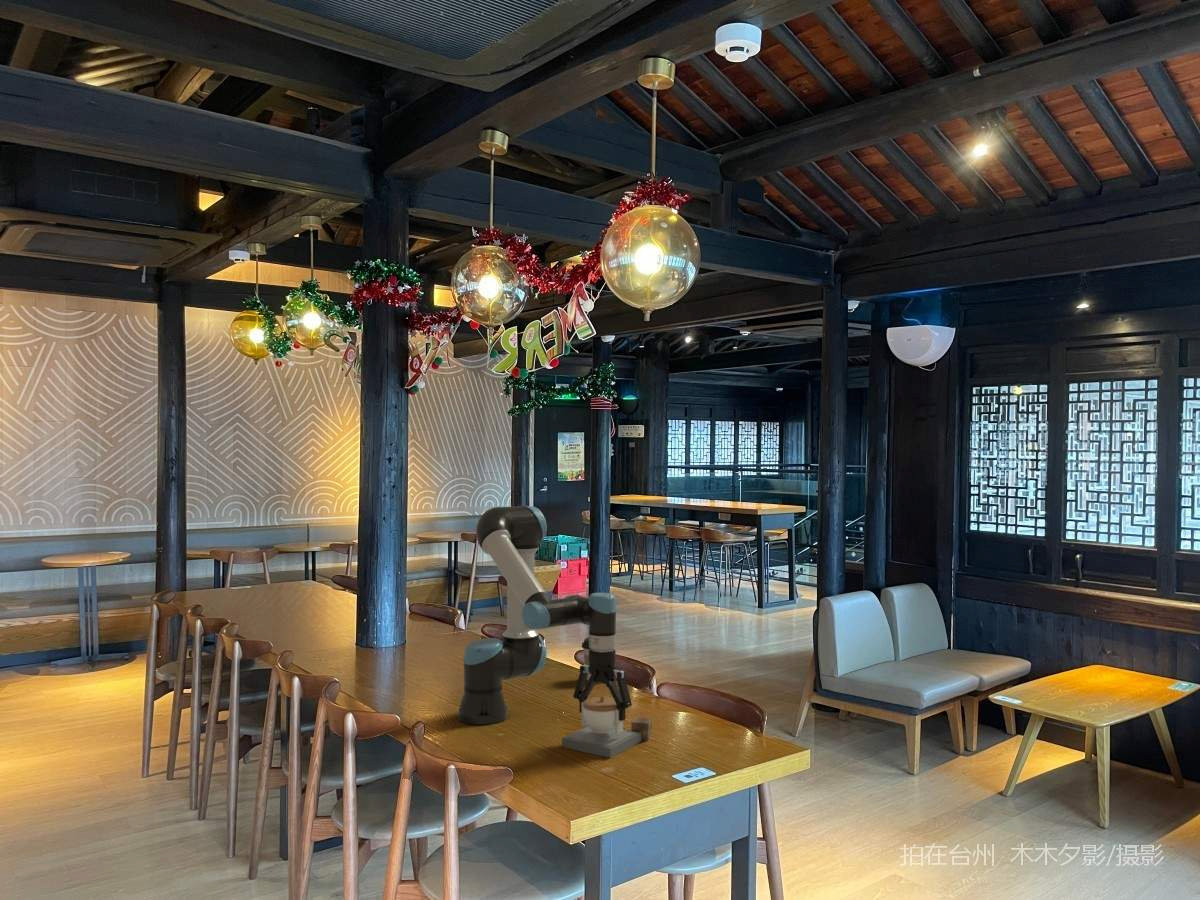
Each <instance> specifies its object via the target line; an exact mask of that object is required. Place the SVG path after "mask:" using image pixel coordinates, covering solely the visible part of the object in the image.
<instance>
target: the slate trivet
mask: <svg viewBox="0 0 1200 900" xmlns="http://www.w3.org/2000/svg"><path fill="white" fill-rule="evenodd" d="M641 742H642V740H641V733H640V732H635V731H631V729H630V730H629V729H624V728H623V731H621V732H620V733H615V728H614V729H613V731H612V732H609V733H595V732H593V731H591V729H590V728H589V727H588V725H586V726H583V728H581V729H578V730H576V731H573V732H571V733H570V734H568V735H565V736H563V737H561V747H562V748H565V749H570V750H574V751H578V752H582V753H587V754H590V755H596V756H599V757H603V756H605V758H608V757H609V758H608V759H612V758H613V756H614V757H616V756H617V754H618V755H620V754H621V753H623V752H625V751H626V750H629V749H630V748H632V747H634V746H636V745H638V744H640V743H641ZM615 755H616V756H615ZM611 757H612V758H611Z"/></svg>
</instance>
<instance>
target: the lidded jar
mask: <svg viewBox="0 0 1200 900" xmlns="http://www.w3.org/2000/svg"><path fill="white" fill-rule="evenodd" d="M583 707H584V718H585V722H586V724H587V725H586V726H588V727H589V728H590V729H591V731H593V732H595V733H609V732H612V731H613V729H614V728H615V724H616V709H617V708H618V707H617V704H616V702H615V700H614V698H613V697H610V696H604V695H600V696H596V697H590V698H589V697H588V699H586V700H585V701H584V702H583Z"/></svg>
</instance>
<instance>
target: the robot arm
mask: <svg viewBox="0 0 1200 900" xmlns="http://www.w3.org/2000/svg"><path fill="white" fill-rule="evenodd" d="M547 530H548V526H547V520H546V518H545V516H544V514H543V513H542V510H541V509H539V508H538V507H535V506H533V505H532V506H531V505H518V506H517V505H516V506H515V505H514V506H495V507H491V508H489V509H488V510H485V511H484V512H483V513H482V515H480V517H479V519H478V521H477V524H476V528H475V536H476V540H477V543H478V545H479V547H480V549H481V550H482V551H483V553H484V554H486V555H489V556H490V558H491V559H492V561H493V562H494V563H495V565H496V567H497V568H498V570H499V571H500V573H501V574H502V575H503V577H504V580H506V582H507V583H506V588H507V589H506V590H507V593H506V598H507V601H506V602H507V603H506V606H507V608H506V609H507V610H506V611H507V612H506V615H507V617H506V618H507V619H506V621H507V624H506V626H507V627H506V630H505V631H503V633H502V634H501V635H502V640H501V639H500V638H498V637H488V638H480V639H477V640H473V641H471V642H469V643H468V644H467V645H465V648H464V655H463V676H464V677H463V696H462V698H461V702H460V705H459V708H458V711H457V718H458V721H459V722H460V723H464V724H467V725H480V726H481V725H492V724H497V723H500V722H503V721H505V720H506V719H507V718H508V716H509V715H508V711H509V710H508V707H507V705H506V701H505V698H504V694H503V681H506V680H509V679H510V680H512V679H518V678H521V677H524V678H525V677H529V676H531V675H535V674H537V673H539V672H540V671H541V670H542V669H543V668H544V666H545V664H546V660H547V647H546V646H545V644H546V643H545V642H544V640H543V639H542V638H541V637H540V633H539V632H538V631H537V630H545V629H548V628H554V627H561V626H562V627H563V626H569V625H575V624H582V625H587V626H588V637H589V648H590V650H589V663H590V665H589V666H588V665H587V664H585V663H584V664H581V665H580V666H579V675H578V679H577V682H576V685H575V689H574V693H573V699H577V700H578V702H579V710H578V711H579V713H581V725H580V726H582V727H586V726H588V725H587V724H586V722H585V718H584V707H583V702H584V701H585V700H586V699H589V696H590V694H591V692H592V690H593V689H594V687H595V686H596V685H597V684H602V685H603V684H604V685H605V686H606V688H608V690H609V692H610V693H611V695H612V698H614V700H615V702H616V704H617V707H618V708H617V709H616V724H615V733H620V732H621V731H623V729H624V721H625V720H626V709H628V708H630V707H631V706H632V705H633V703H632V700H631V695H630V692H629V689H628V683H627V681H626V670H624V669H622V670H618V669H616V667H615V666H616V661H617V659H616V658H617V657H616V656H617V655H616V654H617V653H616V644H617V639H616V638H617V637H616V636H617V635H616V628H617V627H616V625H617V624H616V622H617V619H616V618H617V615H616V614H617V606H616V605H617V604H616V596H615V595H614V594H613V593H610V592H593V593H591V594H589V597H586V596H583V595H581V594H575V595H574V594H569V595H566V596H565V597H564V598H555V599H551V597H550V596H549V595H548V593H547V592H546V590H545V589H544V588H543V586H542V584H541V583H540V582H539V581H538V578H537V577H536V575H535V554H536V552H537V551H538V550H539V549H540V542H543V540H545V539H546V536H547V532H548V531H547ZM588 672H590V674H591V677H590V678H589V680H588V681H587V675H588ZM586 682H587V683H586ZM596 682H597V683H596ZM599 682H600V683H599Z"/></svg>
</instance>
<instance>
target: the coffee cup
mask: <svg viewBox="0 0 1200 900" xmlns="http://www.w3.org/2000/svg"><path fill="white" fill-rule="evenodd" d="M581 648H582V651H583V658H584V665H585V664H587V665H588V666H589V665H590V663H589V650H590V648H589V636H588V637H586V638H584V640H583V642H582V643H581ZM590 677H591V674H590V672H588V675H587V678H586V681H587V680H589V678H590ZM596 684H601V683H600V682H599V683H597V682H596Z"/></svg>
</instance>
